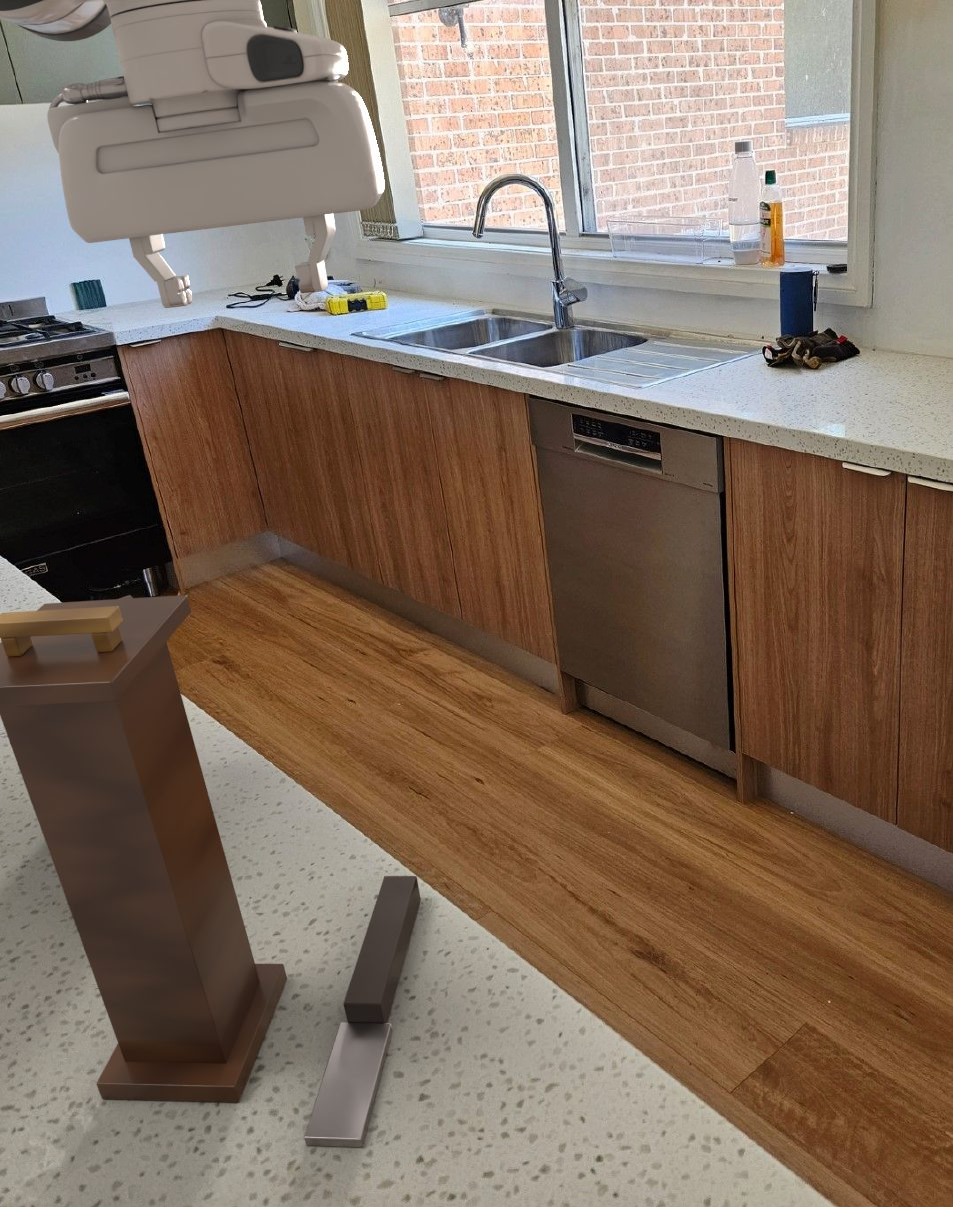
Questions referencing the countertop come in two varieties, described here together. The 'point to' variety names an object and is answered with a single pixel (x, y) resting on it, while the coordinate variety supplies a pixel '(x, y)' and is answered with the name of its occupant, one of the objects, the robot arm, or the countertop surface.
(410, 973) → the countertop surface
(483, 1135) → the countertop surface
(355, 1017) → the knife
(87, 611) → the brown wooden pedestal
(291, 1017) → the countertop surface
